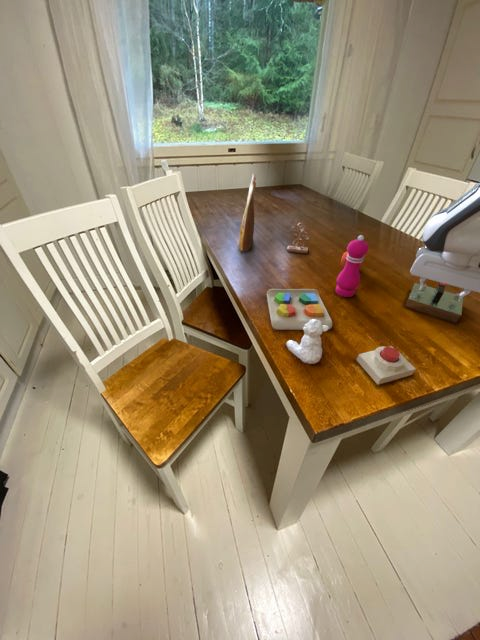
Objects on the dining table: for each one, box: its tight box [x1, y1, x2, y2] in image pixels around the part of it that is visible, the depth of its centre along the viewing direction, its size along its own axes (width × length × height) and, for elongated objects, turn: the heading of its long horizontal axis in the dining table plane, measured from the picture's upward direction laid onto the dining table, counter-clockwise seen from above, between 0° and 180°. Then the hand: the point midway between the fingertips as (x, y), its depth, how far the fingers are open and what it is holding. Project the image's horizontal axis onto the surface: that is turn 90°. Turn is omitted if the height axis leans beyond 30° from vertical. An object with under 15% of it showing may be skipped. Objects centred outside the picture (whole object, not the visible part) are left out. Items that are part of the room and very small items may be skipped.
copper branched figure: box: [286, 222, 310, 254], centre depth 115 cm, size 9×4×12 cm, turn 77°
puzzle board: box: [266, 288, 333, 331], centre depth 83 cm, size 18×19×4 cm
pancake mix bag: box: [238, 172, 257, 253], centre depth 114 cm, size 7×19×28 cm, turn 171°
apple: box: [340, 250, 365, 269], centre depth 104 cm, size 8×8×8 cm
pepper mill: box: [335, 234, 370, 298], centre depth 87 cm, size 7×7×20 cm
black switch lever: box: [433, 282, 446, 302], centre depth 85 cm, size 6×2×4 cm, turn 145°
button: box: [381, 346, 401, 363], centre depth 64 cm, size 4×4×2 cm
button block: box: [356, 345, 417, 386], centre depth 66 cm, size 10×8×4 cm
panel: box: [404, 282, 464, 323], centre depth 87 cm, size 14×12×3 cm
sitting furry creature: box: [285, 319, 329, 365], centre depth 66 cm, size 10×9×12 cm
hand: (438, 294), depth 85 cm, fingers open, 8 cm apart
